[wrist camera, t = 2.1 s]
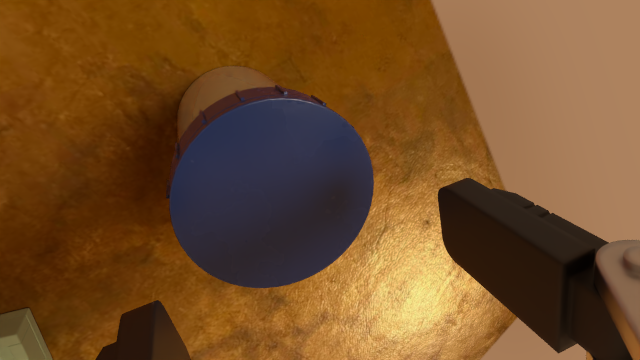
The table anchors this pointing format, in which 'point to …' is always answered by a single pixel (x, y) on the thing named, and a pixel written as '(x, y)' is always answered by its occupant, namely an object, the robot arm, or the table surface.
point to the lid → (268, 187)
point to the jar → (216, 91)
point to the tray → (21, 337)
